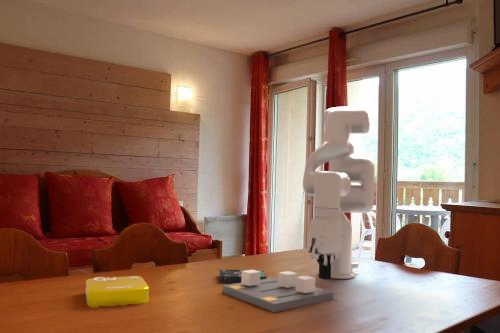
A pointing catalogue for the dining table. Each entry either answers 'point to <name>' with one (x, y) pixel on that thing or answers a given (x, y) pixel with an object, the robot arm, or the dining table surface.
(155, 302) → the dining table surface
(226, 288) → the switch board
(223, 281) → the disk drive
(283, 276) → the tab
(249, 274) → the tab
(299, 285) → the tab
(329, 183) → the robot arm
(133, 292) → the element tile
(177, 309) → the dining table surface
